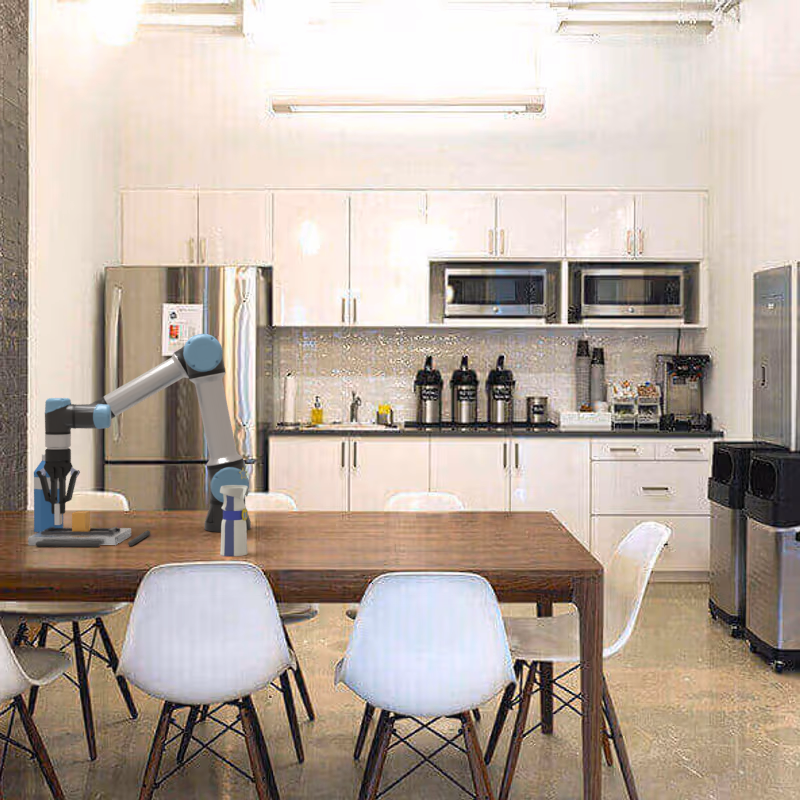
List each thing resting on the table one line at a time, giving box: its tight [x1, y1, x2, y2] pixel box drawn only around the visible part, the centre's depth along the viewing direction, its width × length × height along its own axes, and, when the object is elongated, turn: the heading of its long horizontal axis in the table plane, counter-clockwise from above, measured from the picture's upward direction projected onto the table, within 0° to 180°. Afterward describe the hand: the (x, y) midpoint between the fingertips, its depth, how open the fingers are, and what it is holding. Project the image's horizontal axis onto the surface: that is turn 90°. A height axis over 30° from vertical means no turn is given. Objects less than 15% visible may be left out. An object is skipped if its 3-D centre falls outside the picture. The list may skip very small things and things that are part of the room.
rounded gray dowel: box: [127, 530, 151, 547], centre depth 311 cm, size 21×2×2 cm, turn 0°
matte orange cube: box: [71, 510, 91, 531], centre depth 311 cm, size 4×5×6 cm
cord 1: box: [35, 541, 101, 548], centre depth 300 cm, size 19×2×2 cm, turn 90°
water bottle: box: [33, 453, 64, 533], centre depth 331 cm, size 9×9×25 cm
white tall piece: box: [219, 468, 249, 557], centre depth 289 cm, size 8×9×25 cm
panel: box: [27, 526, 132, 546], centre depth 311 cm, size 26×18×4 cm
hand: (58, 524), depth 311 cm, fingers closed
